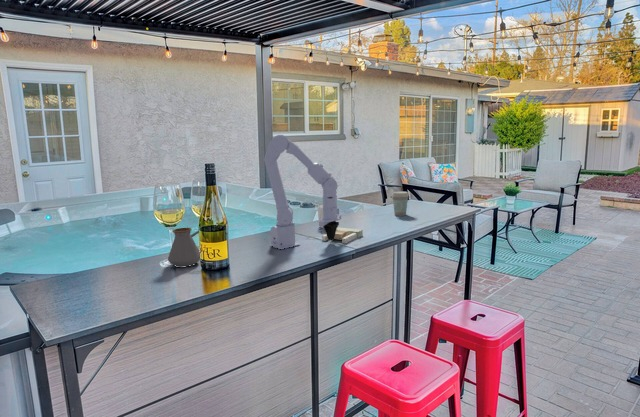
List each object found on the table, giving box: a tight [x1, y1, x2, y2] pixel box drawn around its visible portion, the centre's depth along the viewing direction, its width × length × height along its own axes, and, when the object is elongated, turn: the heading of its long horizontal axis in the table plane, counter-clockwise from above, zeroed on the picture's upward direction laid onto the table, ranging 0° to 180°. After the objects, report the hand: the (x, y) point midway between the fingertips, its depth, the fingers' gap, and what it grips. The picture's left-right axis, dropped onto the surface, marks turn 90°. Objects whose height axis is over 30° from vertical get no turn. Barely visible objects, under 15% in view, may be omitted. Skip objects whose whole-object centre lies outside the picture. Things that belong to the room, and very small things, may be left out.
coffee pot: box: [167, 227, 201, 266], centre depth 154 cm, size 21×12×15 cm, turn 128°
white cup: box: [317, 204, 324, 229], centre depth 202 cm, size 8×8×10 cm
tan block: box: [333, 230, 349, 242], centre depth 180 cm, size 7×5×3 cm
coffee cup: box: [391, 190, 409, 217], centre depth 223 cm, size 8×8×12 cm
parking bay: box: [321, 226, 363, 244], centre depth 181 cm, size 14×12×2 cm
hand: (331, 239), depth 173 cm, fingers closed
